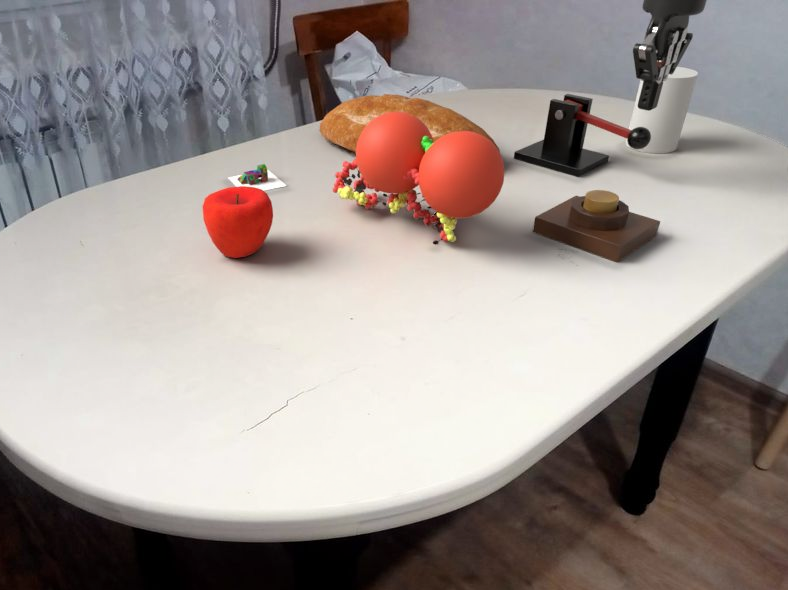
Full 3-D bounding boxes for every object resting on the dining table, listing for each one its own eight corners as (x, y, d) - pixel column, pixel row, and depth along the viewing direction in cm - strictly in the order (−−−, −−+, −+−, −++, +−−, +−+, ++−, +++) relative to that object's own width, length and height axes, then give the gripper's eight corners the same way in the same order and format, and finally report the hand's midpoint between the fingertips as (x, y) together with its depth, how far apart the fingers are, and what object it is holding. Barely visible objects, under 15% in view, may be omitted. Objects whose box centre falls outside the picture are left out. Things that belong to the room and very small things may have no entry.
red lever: (649, 149, 99) (658, 129, 97) (639, 155, 97) (648, 134, 95) (564, 115, 107) (570, 96, 105) (553, 120, 105) (559, 100, 103)
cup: (671, 138, 116) (692, 66, 109) (680, 154, 109) (703, 78, 102) (622, 136, 117) (639, 65, 110) (628, 152, 111) (647, 77, 104)
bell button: (621, 208, 84) (625, 195, 83) (605, 218, 82) (609, 204, 81) (593, 199, 87) (596, 187, 86) (576, 208, 85) (579, 195, 84)
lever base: (608, 162, 107) (622, 100, 102) (578, 177, 103) (591, 113, 97) (543, 145, 115) (553, 87, 109) (513, 158, 110) (522, 98, 104)
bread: (352, 120, 129) (352, 73, 124) (520, 155, 111) (528, 101, 106) (294, 145, 119) (292, 94, 113) (470, 188, 100) (476, 129, 95)
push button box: (656, 236, 85) (664, 207, 83) (617, 262, 80) (625, 232, 78) (573, 210, 93) (578, 182, 91) (532, 232, 88) (537, 203, 85)
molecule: (516, 228, 88) (526, 124, 77) (471, 276, 84) (475, 173, 72) (370, 174, 101) (360, 78, 89) (324, 213, 96) (307, 117, 85)
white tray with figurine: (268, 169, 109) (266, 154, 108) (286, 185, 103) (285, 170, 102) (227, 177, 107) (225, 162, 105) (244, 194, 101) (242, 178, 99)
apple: (266, 270, 81) (261, 211, 76) (198, 265, 82) (189, 207, 78) (283, 238, 88) (279, 182, 84) (220, 234, 90) (213, 179, 85)
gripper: (688, -21, 79) (649, 124, 89) (733, -32, 86) (693, 104, 96) (629, -26, 84) (598, 113, 94) (676, -36, 91) (643, 94, 101)
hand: (646, 108), depth 95 cm, fingers closed
